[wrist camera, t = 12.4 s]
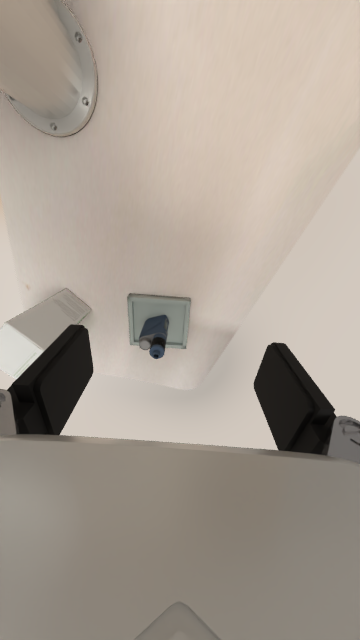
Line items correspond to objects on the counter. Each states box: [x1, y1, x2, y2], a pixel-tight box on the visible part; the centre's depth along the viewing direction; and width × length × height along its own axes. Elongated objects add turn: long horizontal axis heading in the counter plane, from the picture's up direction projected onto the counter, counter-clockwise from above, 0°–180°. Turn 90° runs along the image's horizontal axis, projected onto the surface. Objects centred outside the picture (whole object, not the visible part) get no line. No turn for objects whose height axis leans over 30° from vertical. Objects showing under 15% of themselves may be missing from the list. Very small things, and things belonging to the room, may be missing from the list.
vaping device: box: [139, 315, 169, 359], centre depth 37 cm, size 3×5×12 cm, turn 105°
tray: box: [127, 294, 191, 349], centre depth 42 cm, size 11×12×2 cm
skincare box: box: [0, 288, 91, 379], centre depth 35 cm, size 8×7×16 cm
